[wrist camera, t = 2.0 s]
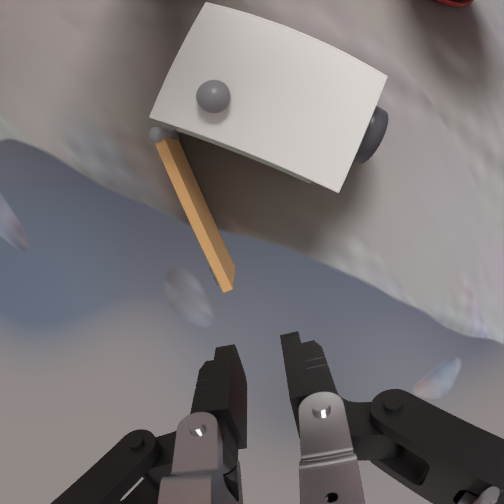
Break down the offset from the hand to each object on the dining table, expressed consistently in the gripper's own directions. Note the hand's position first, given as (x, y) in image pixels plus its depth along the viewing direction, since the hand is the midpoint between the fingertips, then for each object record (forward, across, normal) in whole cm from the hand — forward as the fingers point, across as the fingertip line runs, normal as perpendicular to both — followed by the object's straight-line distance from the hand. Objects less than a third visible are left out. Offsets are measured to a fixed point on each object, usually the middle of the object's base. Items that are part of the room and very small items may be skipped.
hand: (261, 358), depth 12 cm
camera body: (+17, -4, -12) cm, 21 cm away
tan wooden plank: (+17, +4, -5) cm, 18 cm away
